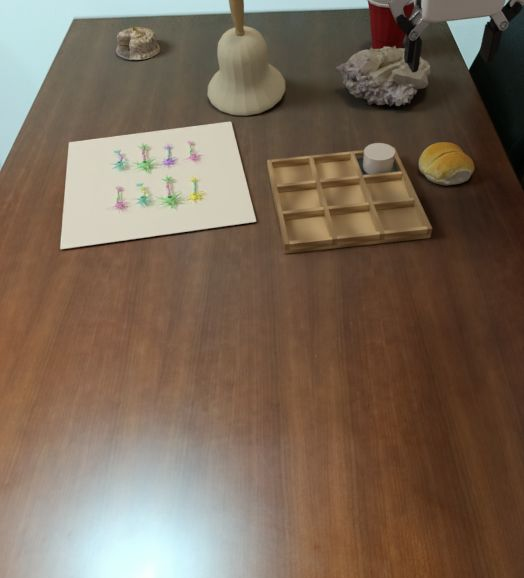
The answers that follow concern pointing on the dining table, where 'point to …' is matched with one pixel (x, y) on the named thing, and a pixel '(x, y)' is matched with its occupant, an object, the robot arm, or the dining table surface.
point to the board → (343, 203)
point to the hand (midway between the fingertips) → (448, 63)
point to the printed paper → (153, 185)
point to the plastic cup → (386, 24)
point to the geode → (383, 76)
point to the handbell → (244, 70)
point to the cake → (137, 44)
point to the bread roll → (445, 164)
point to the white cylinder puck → (378, 158)
